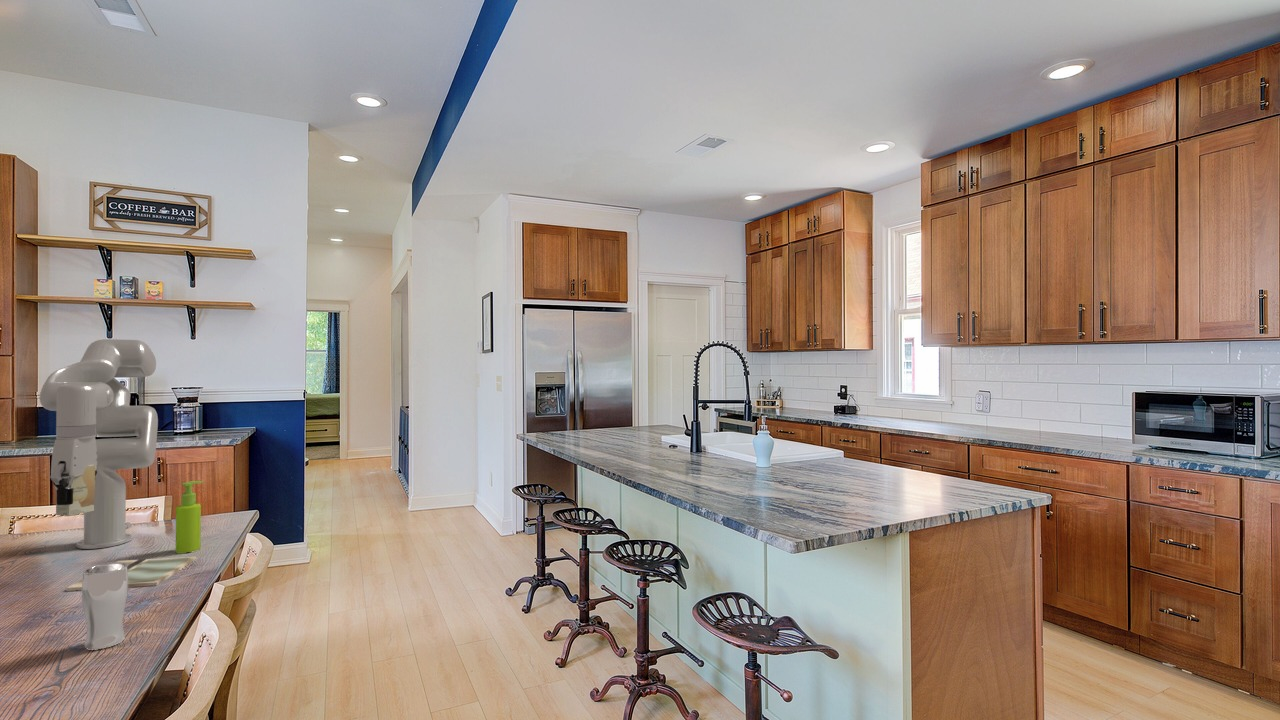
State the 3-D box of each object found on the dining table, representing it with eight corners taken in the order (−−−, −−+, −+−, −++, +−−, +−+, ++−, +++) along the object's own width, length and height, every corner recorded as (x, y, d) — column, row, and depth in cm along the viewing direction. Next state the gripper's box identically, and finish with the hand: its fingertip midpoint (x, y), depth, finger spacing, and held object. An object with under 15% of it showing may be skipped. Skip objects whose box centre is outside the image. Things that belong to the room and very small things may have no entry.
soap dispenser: (208, 547, 181) (209, 480, 181) (184, 554, 175) (185, 485, 175) (194, 545, 183) (195, 479, 183) (170, 552, 177) (171, 483, 177)
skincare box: (68, 516, 153) (68, 468, 153) (55, 515, 154) (55, 467, 154) (96, 510, 159) (96, 464, 159) (83, 509, 160) (83, 463, 160)
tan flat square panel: (117, 563, 166) (117, 560, 166) (196, 559, 171) (196, 555, 171) (66, 591, 147) (66, 587, 147) (156, 585, 151) (156, 581, 151)
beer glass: (100, 636, 124) (100, 562, 124) (136, 635, 124) (137, 561, 124) (71, 652, 117) (71, 574, 117) (110, 651, 117) (110, 573, 117)
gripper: (82, 428, 164) (81, 493, 164) (33, 436, 147) (32, 509, 147) (114, 428, 166) (114, 492, 166) (69, 436, 149) (69, 508, 149)
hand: (75, 500), depth 157 cm, fingers closed on skincare box, 7 cm apart
